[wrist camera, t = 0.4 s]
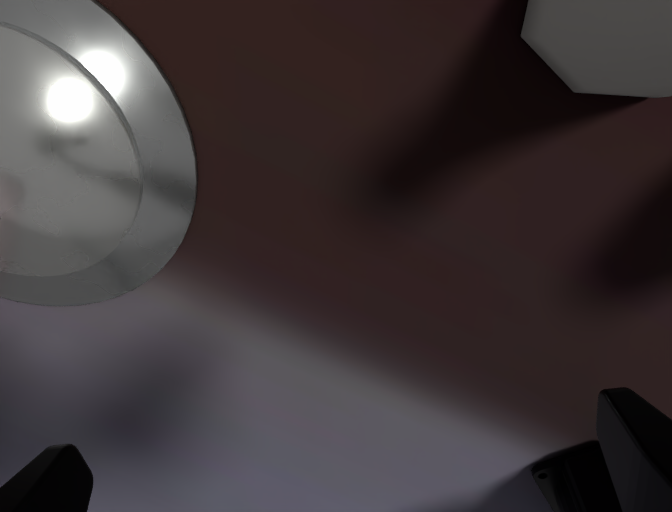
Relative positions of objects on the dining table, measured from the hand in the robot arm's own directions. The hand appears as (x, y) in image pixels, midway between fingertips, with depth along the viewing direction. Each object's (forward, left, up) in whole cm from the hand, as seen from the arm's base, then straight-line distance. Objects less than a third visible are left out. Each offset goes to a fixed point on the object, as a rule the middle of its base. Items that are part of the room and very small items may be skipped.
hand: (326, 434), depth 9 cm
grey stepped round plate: (+6, +11, -14) cm, 18 cm away
